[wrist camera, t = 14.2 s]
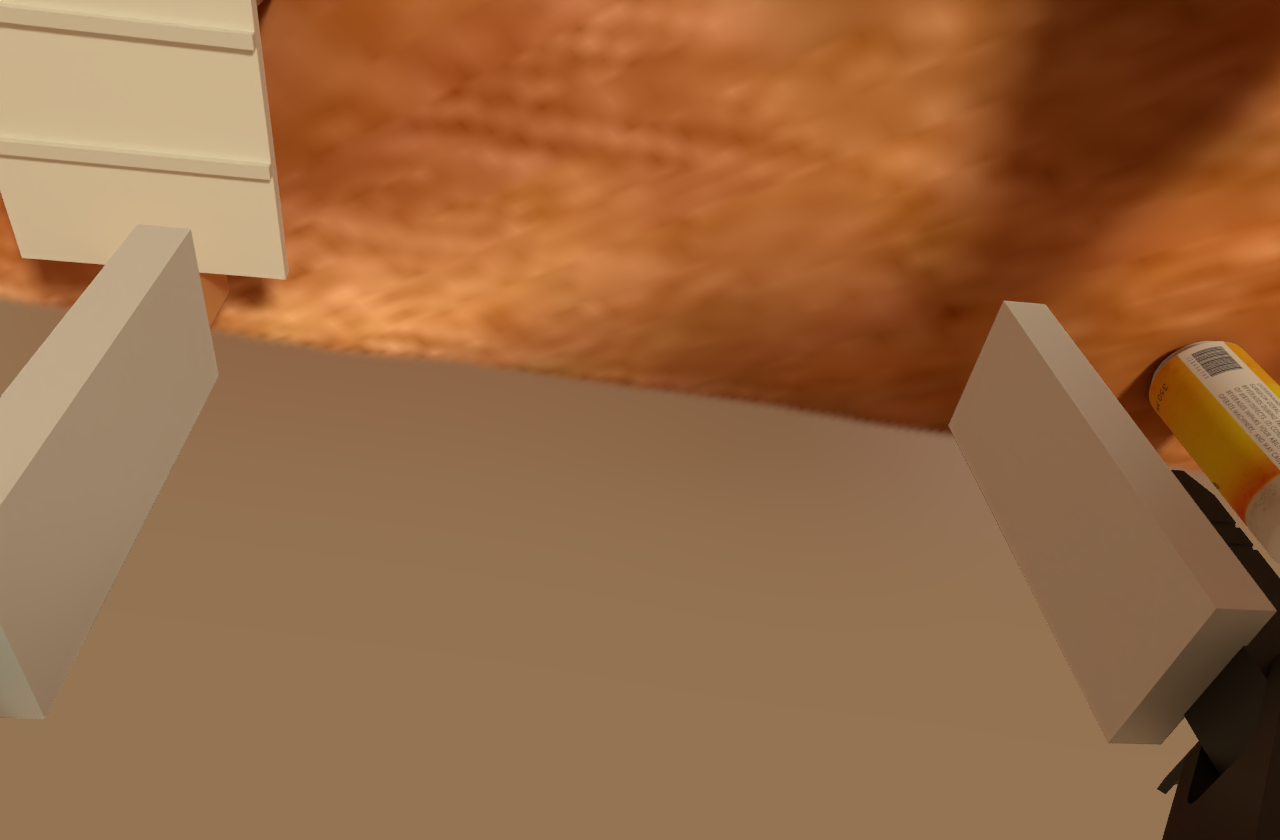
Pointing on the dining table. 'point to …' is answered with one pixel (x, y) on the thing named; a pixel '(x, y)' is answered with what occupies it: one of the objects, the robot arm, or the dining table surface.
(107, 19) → the lid
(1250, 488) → the beer can
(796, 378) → the dining table surface
